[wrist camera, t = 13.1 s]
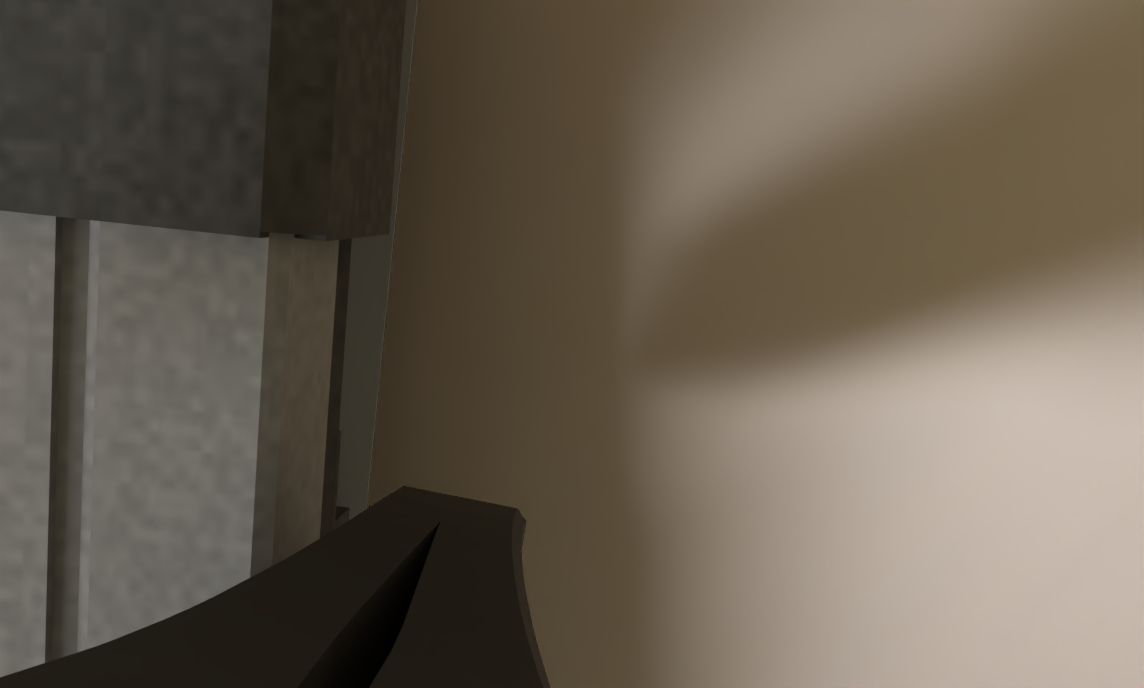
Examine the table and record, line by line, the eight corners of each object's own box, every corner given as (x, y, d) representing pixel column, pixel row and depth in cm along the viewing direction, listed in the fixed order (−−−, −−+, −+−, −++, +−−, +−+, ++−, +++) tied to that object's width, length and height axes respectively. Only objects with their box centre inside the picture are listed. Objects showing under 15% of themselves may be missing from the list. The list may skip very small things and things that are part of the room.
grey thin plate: (316, 1005, 19) (315, 1008, 19) (-192, 889, 20) (-194, 892, 20) (491, -723, 11) (489, -726, 11) (-415, -841, 11) (-421, -846, 11)
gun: (159, 973, 18) (-426, 1700, 8) (283, -127, 18) (-154, -689, 9) (403, 1015, 18) (94, 1824, 8) (529, -108, 18) (376, -673, 8)
